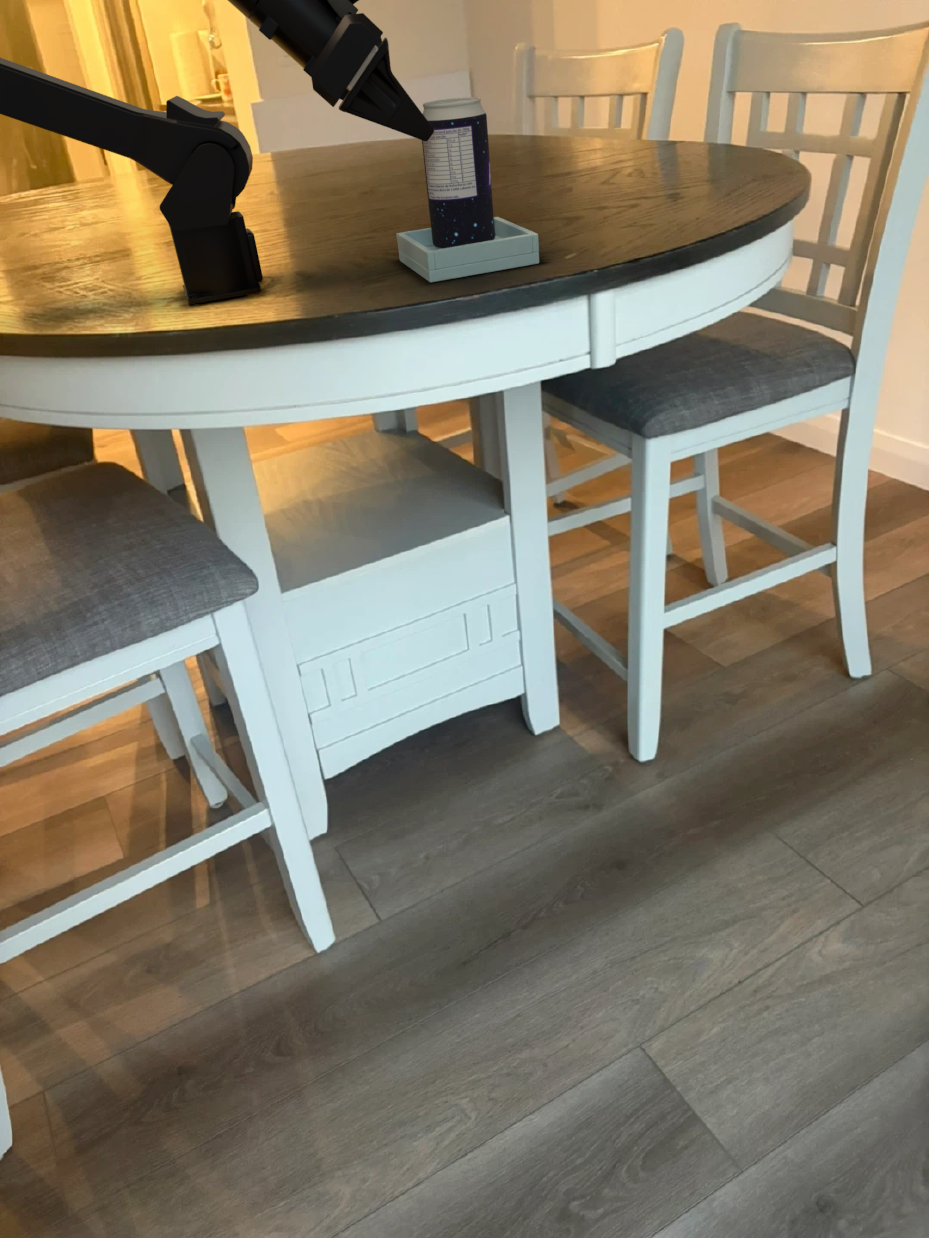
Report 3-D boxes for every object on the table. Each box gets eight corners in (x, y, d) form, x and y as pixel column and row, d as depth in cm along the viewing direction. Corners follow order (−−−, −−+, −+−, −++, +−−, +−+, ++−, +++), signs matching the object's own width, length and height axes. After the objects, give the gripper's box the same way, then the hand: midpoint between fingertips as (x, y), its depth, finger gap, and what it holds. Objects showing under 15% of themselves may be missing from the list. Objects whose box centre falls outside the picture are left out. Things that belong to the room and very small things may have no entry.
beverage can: (506, 250, 82) (497, 97, 75) (450, 261, 80) (435, 106, 73) (478, 241, 86) (466, 95, 79) (423, 252, 84) (407, 104, 78)
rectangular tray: (430, 283, 78) (426, 252, 77) (399, 261, 87) (396, 233, 85) (539, 263, 81) (538, 233, 79) (499, 244, 89) (497, 216, 87)
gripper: (329, -132, 60) (504, 47, 67) (331, -99, 76) (473, 43, 82) (237, 23, 64) (411, 177, 71) (257, 23, 80) (398, 149, 86)
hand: (426, 131), depth 77 cm, fingers open, 9 cm apart
